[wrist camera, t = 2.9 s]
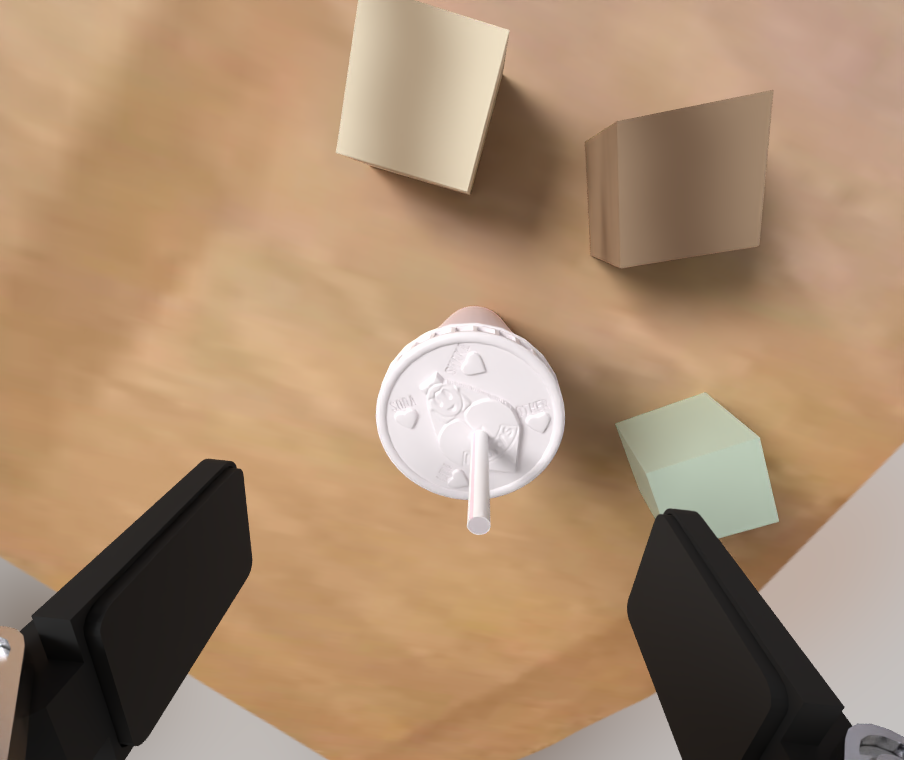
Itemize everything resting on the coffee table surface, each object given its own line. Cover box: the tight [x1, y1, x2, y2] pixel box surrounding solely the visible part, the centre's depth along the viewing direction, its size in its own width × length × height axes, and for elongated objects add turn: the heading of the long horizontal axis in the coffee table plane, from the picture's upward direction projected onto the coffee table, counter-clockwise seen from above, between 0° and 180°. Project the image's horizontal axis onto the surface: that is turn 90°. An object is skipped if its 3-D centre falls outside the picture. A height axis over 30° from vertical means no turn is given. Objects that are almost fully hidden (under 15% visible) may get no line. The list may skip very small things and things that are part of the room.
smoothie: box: [376, 306, 565, 535], centre depth 16 cm, size 6×6×14 cm
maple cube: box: [336, 0, 509, 195], centre depth 17 cm, size 5×5×5 cm
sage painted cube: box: [615, 392, 779, 538], centre depth 22 cm, size 5×5×5 cm
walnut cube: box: [585, 90, 773, 268], centre depth 17 cm, size 5×5×5 cm
